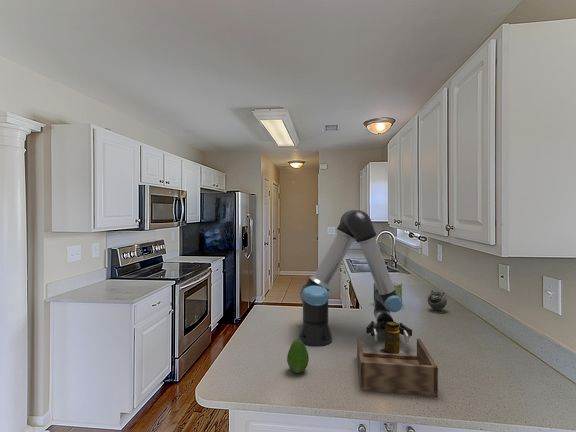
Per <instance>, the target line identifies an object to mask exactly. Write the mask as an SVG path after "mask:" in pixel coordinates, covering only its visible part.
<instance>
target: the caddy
mask: <svg viewBox="0 0 576 432" xmlns="http://www.w3.org/2000/svg"><path fill="white" fill-rule="evenodd" d="M356 342H357V344H356V349H357V350H356V356H357V357H356V359H357V368H358V369H357V370H358V376H359V377H358V378H359V385H360V386H359V387H360V391H369V392H383V393H393V394H394V393H395V394H404V395H405V394H406V395H417V396H430V397H438V393H439V392H438V390H439V385H438V383H439V372H438V371H439V367H438V366H437V364H436V363H435V361H434V359H433V358H432V356H431V354H430V353H429V351H428V350H427V347H426V346H425V344H424V343H423V341H422V339H421V338H416V354H403V353H401V354H390V353H381V352H374V351H372V352H370V351H363V345H362V343H363V342H362V337H361V335H360V334H357V335H356Z"/></svg>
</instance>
